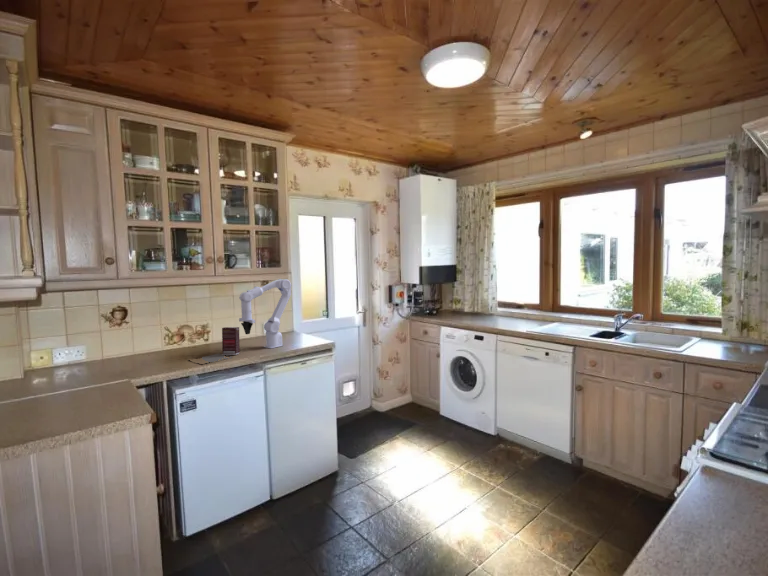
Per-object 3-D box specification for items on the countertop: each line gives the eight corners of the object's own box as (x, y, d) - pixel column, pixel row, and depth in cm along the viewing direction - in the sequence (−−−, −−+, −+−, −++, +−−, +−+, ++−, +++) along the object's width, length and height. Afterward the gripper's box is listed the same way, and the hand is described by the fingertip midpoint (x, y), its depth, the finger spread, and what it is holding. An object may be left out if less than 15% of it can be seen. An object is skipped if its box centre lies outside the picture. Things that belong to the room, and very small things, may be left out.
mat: (218, 354, 228) (218, 353, 228) (233, 357, 218) (233, 357, 218) (187, 360, 214) (187, 360, 214) (201, 365, 204) (201, 364, 204)
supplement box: (240, 353, 228) (239, 326, 228) (236, 355, 223) (235, 327, 223) (226, 353, 228) (225, 327, 229) (221, 355, 224) (221, 327, 224)
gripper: (234, 311, 234) (235, 333, 235) (247, 313, 225) (248, 336, 226) (244, 310, 240) (245, 332, 241) (257, 312, 231) (258, 334, 232)
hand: (247, 334), depth 234 cm, fingers closed
